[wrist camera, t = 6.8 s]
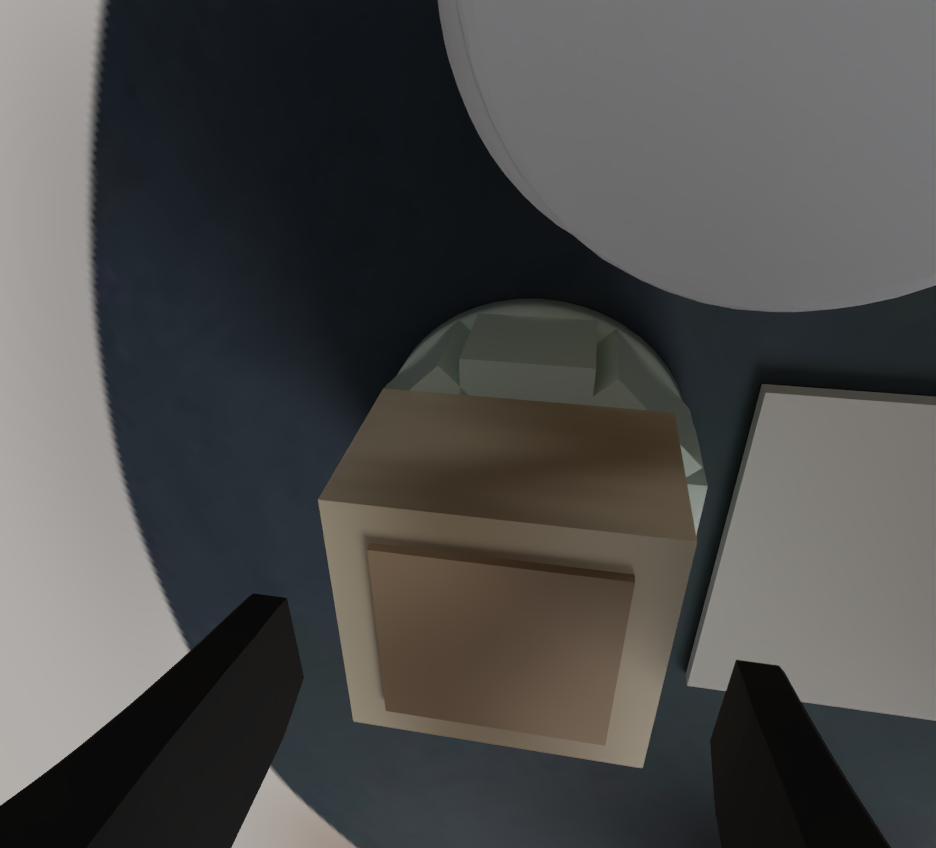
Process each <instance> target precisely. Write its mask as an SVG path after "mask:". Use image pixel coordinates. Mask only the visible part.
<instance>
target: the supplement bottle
mask: <svg viewBox="0 0 936 848" xmlns="http://www.w3.org/2000/svg"><path fill="white" fill-rule="evenodd" d="M438 7H439V15H440V21H441V26H442V32H443V38H444V43H445V47H446V51H447V55H448V59H449V62H450V65H451V68H452V72H453V75H454V78H455V81H456V84H457V87H458V89H459V92H460V94H461V97H462V99H463V102H464V104H465V107H466V109H467V111H468V114H469V116H470V118H471V120H472V122H473V124H474V126H475V128H476V130H477V133H478V134H479V136H480V138H481V139H482V141H483V143H484V144H485V146H486V148H487V149H488V151H489V153H490V154H491V156H492V157H493V159H494V160H495V161H496V163H497V164H498V166H499V167H500V168H501V170H502V171H503V172H504V174H505V175H506V176H507V177H508V179H509V180H510V181H511V182H512V183H513V184H514V185H515V187H516V188H517V189H518V190H519V191H520V192H521V193H522V195H523V196H524V197H525V198H526V199H527V200H529V201H530V202H531V203H532V204H533V205H534V206H535V207H536V208H537V209H538V210H539V211H540V212H542V213H543V214H544V215H545V216H547V217H548V218H549V219H550V220H551V221H553V222H554V223H555V224H556V225H558V226H559V227H561V228H562V229H564V230H566V231H567V232H569V233H570V234H572V235H573V236H575V237H576V238H577V239H578V240H579V241H581V242H582V243H583V244H584V245H586V246H587V247H588V248H589V249H590V250H592V251H593V252H594V253H595V254H597V255H598V256H599V257H600V258H602V259H603V260H605V261H607V262H609V263H610V264H612V265H614V266H616V267H618V268H619V269H621V270H623V271H625V272H627V273H628V274H630V275H632V276H634V277H636V278H637V279H639V280H642V281H644V282H646V283H649V284H651V285H653V286H656V287H658V288H660V289H662V290H665V291H667V292H670V293H673V294H676V295H680V296H683V297H686V298H689V299H692V300H695V301H698V302H701V303H706V304H711V305H717V306H722V307H727V308H732V309H740V310H752V311H765V312H803V311H816V310H828V309H838V308H845V307H852V306H859V305H864V304H869V303H874V302H878V301H883V300H888V299H892V298H897V297H900V296H903V295H907V294H910V293H913V292H916V291H920V290H923V289H926V288H929V287H932V286H935V285H936V0H438Z"/></svg>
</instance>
